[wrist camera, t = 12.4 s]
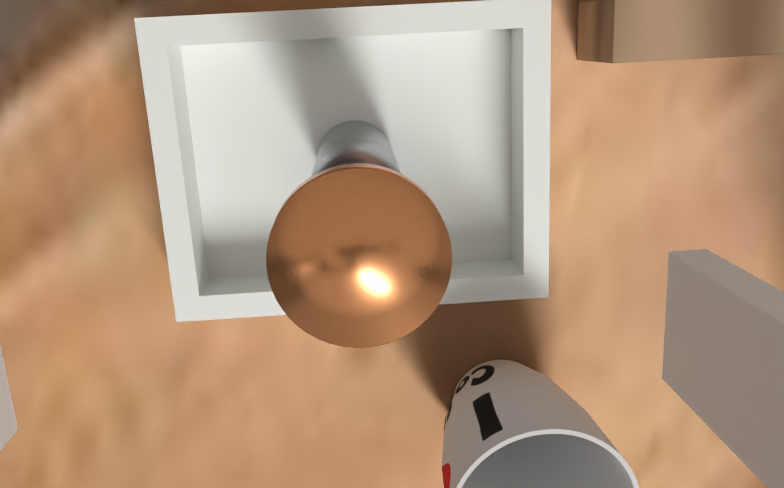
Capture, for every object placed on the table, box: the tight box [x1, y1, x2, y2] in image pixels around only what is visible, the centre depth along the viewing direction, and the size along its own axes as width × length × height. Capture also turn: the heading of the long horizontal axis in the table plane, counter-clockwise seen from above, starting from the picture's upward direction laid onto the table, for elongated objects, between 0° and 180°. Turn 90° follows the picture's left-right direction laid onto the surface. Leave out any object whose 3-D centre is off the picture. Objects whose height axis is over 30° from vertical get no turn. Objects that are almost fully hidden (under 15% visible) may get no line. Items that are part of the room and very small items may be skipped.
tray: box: [134, 0, 551, 322], centre depth 34 cm, size 18×14×3 cm
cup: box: [442, 359, 639, 488], centre depth 35 cm, size 8×8×10 cm
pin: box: [266, 120, 452, 348], centre depth 27 cm, size 5×5×17 cm
